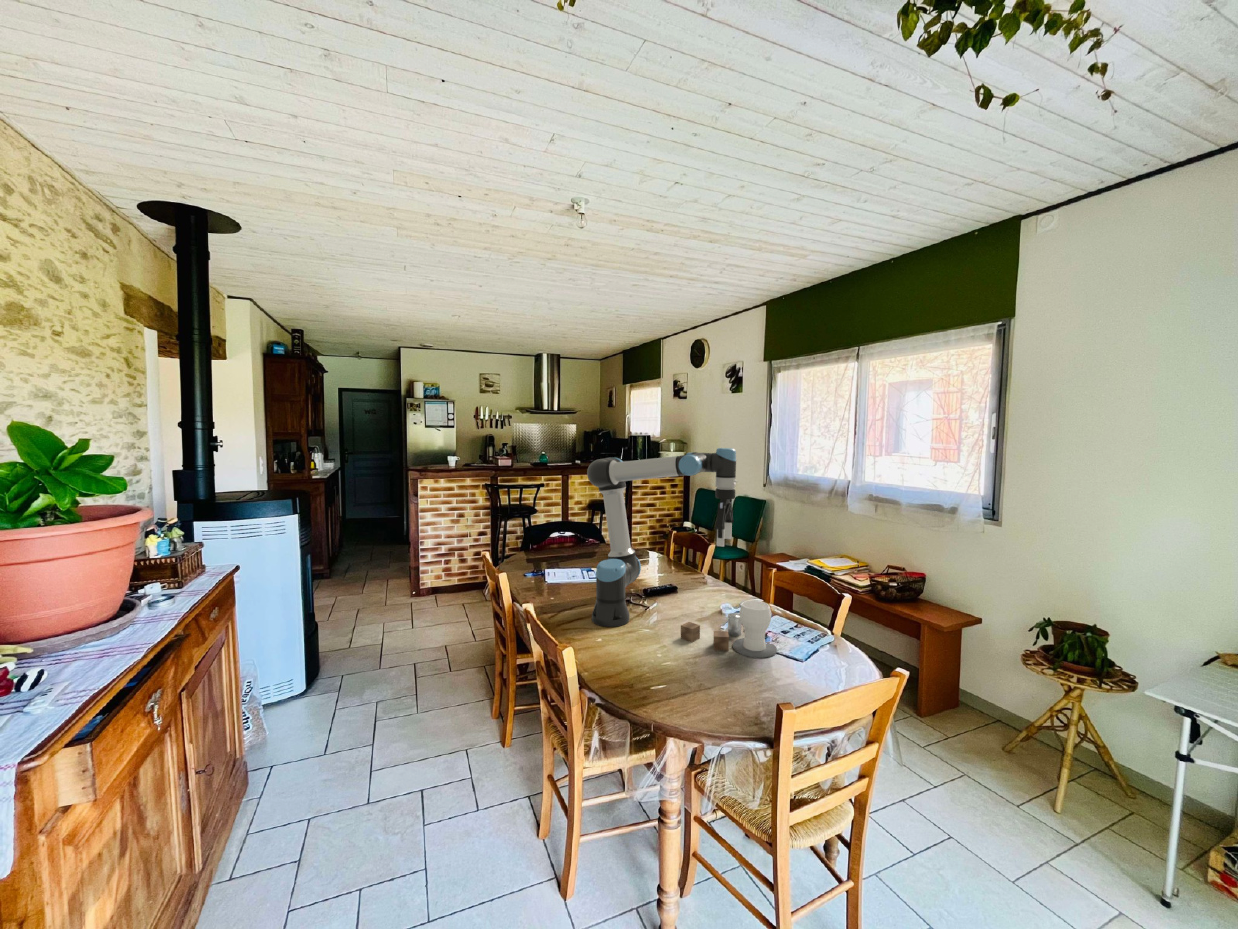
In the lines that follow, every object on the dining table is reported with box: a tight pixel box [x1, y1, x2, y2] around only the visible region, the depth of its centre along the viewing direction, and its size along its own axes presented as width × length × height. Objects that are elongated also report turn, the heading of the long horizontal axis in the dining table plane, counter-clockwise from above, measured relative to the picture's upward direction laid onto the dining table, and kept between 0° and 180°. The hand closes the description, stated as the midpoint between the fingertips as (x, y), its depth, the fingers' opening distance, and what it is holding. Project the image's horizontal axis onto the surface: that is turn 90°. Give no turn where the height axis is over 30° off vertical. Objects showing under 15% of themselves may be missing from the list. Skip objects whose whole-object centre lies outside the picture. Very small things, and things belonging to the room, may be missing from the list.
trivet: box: [732, 637, 778, 659], centre depth 179 cm, size 15×15×1 cm
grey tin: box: [727, 612, 742, 637], centre depth 192 cm, size 5×5×7 cm
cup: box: [739, 599, 772, 651], centre depth 179 cm, size 11×11×15 cm
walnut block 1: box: [680, 621, 701, 643], centre depth 188 cm, size 5×5×5 cm
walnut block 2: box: [713, 630, 730, 652], centre depth 180 cm, size 5×5×5 cm
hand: (724, 542), depth 198 cm, fingers open, 13 cm apart
